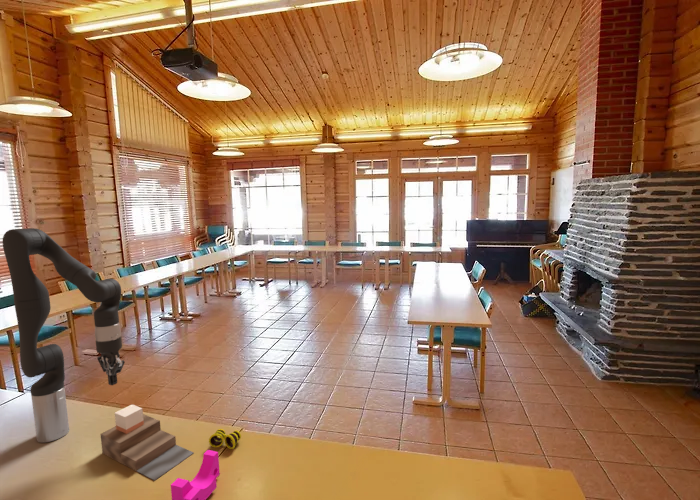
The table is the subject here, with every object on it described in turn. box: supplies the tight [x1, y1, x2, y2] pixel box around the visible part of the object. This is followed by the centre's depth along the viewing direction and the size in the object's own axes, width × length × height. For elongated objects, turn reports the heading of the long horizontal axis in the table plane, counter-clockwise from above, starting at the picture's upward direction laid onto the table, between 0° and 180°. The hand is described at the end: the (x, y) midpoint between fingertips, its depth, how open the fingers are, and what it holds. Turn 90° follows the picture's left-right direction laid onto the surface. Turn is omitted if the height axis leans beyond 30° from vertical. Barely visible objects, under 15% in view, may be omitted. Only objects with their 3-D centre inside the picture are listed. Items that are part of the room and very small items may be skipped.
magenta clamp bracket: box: [170, 449, 220, 500], centre depth 105 cm, size 15×6×8 cm, turn 162°
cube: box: [114, 404, 144, 434], centre depth 126 cm, size 6×6×6 cm
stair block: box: [100, 413, 195, 482], centre depth 122 cm, size 28×14×7 cm, turn 62°
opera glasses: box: [208, 428, 242, 450], centre depth 126 cm, size 10×5×5 cm, turn 79°
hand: (113, 384), depth 128 cm, fingers closed
